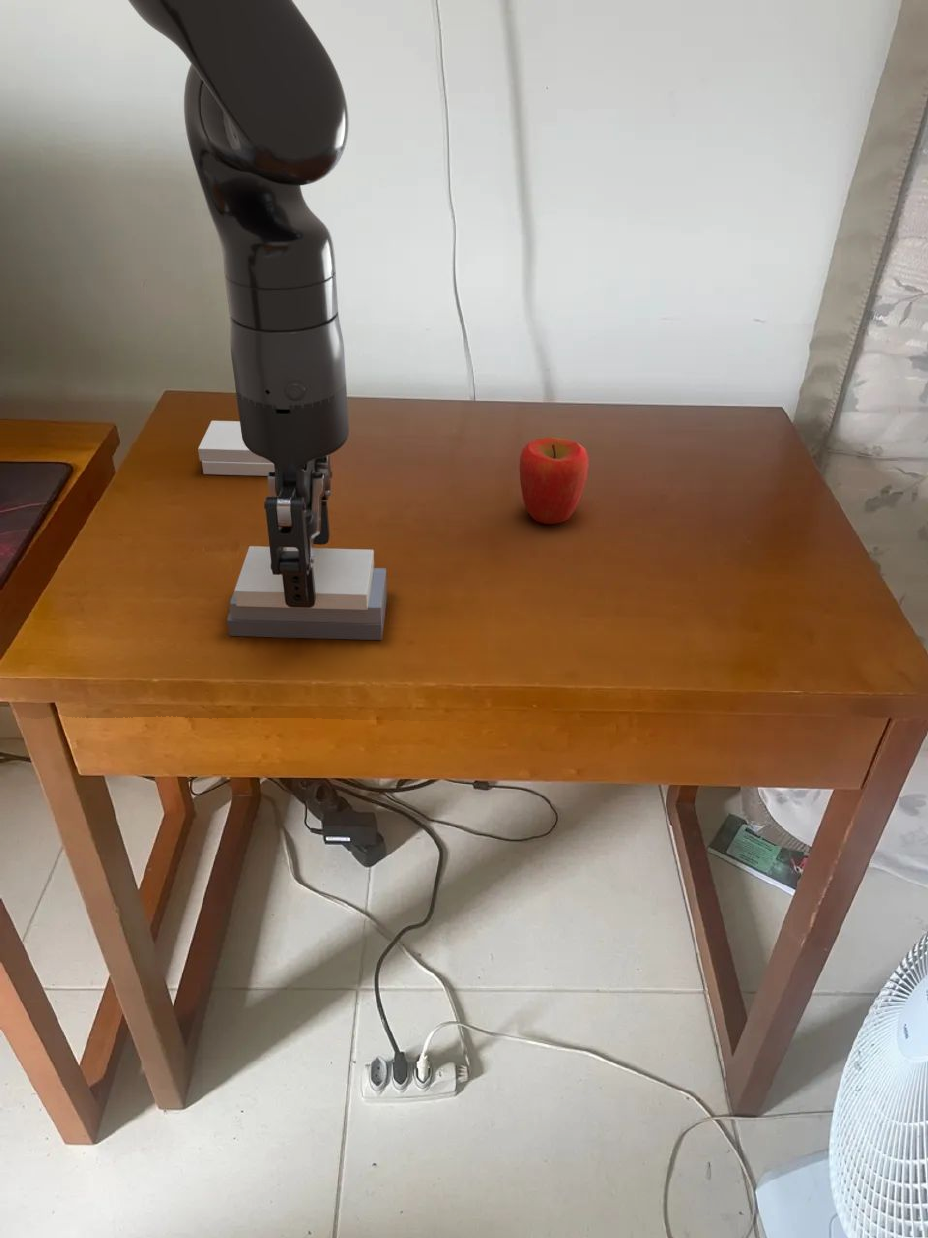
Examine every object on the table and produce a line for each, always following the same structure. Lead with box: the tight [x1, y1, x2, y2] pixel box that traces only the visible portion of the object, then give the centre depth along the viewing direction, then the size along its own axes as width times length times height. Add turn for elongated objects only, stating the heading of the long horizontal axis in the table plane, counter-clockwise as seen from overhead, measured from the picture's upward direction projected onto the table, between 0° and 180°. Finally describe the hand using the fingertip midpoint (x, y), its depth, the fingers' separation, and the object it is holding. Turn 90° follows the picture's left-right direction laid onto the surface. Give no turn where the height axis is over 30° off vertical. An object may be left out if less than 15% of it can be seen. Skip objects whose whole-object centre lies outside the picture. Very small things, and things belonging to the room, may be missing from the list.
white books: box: [197, 420, 275, 477], centre depth 99 cm, size 10×6×3 cm, turn 89°
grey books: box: [226, 565, 388, 641], centre depth 78 cm, size 12×6×3 cm, turn 89°
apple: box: [519, 437, 590, 525], centre depth 91 cm, size 6×6×8 cm
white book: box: [233, 545, 375, 610], centre depth 77 cm, size 10×6×2 cm, turn 89°
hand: (308, 572), depth 77 cm, fingers open, 8 cm apart
